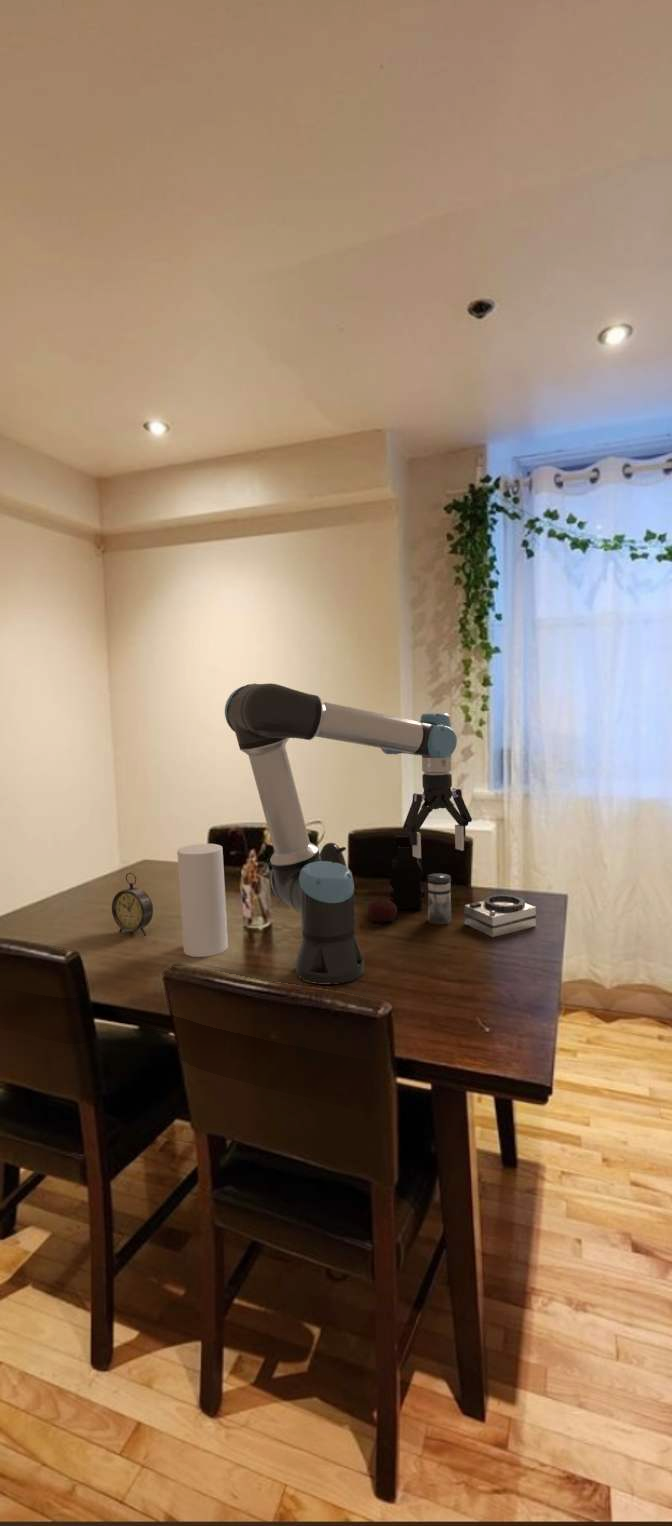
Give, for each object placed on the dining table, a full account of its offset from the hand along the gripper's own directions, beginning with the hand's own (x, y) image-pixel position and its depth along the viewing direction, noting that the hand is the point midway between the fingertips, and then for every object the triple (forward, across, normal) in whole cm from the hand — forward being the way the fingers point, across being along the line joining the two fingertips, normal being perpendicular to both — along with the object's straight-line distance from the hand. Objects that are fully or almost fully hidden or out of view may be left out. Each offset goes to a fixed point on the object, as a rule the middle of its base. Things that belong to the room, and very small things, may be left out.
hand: (438, 853), depth 176 cm
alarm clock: (+18, -72, +36) cm, 83 cm away
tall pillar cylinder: (+18, -59, +15) cm, 64 cm away
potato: (+18, -13, +8) cm, 24 cm away
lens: (+18, 0, 0) cm, 18 cm away
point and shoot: (+18, +11, -11) cm, 24 cm away
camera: (+18, +1, +17) cm, 25 cm away
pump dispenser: (+18, -12, +39) cm, 45 cm away
